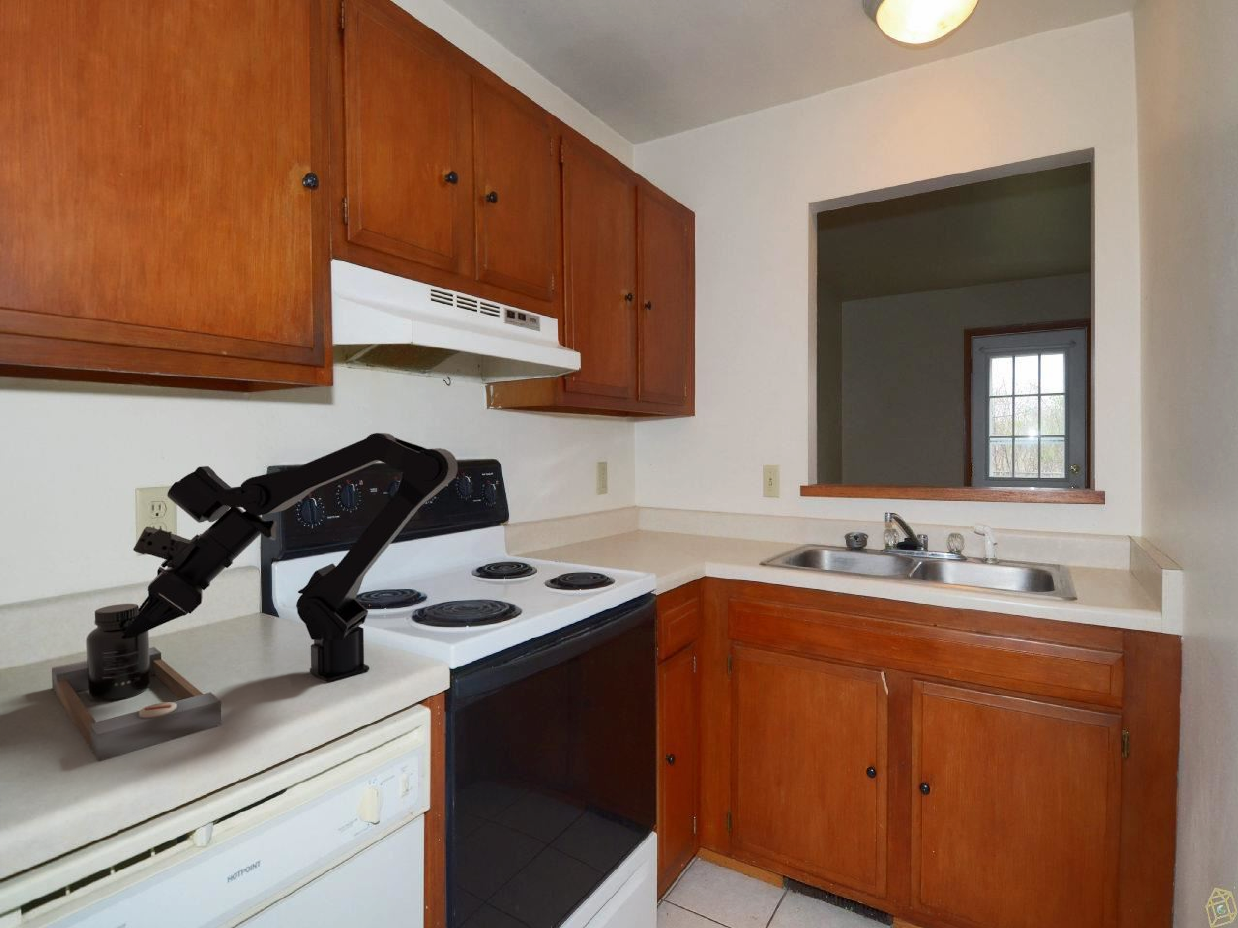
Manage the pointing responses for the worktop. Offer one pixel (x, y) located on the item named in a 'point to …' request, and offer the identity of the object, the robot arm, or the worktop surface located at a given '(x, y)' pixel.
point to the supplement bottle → (116, 655)
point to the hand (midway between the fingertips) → (131, 627)
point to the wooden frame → (141, 725)
